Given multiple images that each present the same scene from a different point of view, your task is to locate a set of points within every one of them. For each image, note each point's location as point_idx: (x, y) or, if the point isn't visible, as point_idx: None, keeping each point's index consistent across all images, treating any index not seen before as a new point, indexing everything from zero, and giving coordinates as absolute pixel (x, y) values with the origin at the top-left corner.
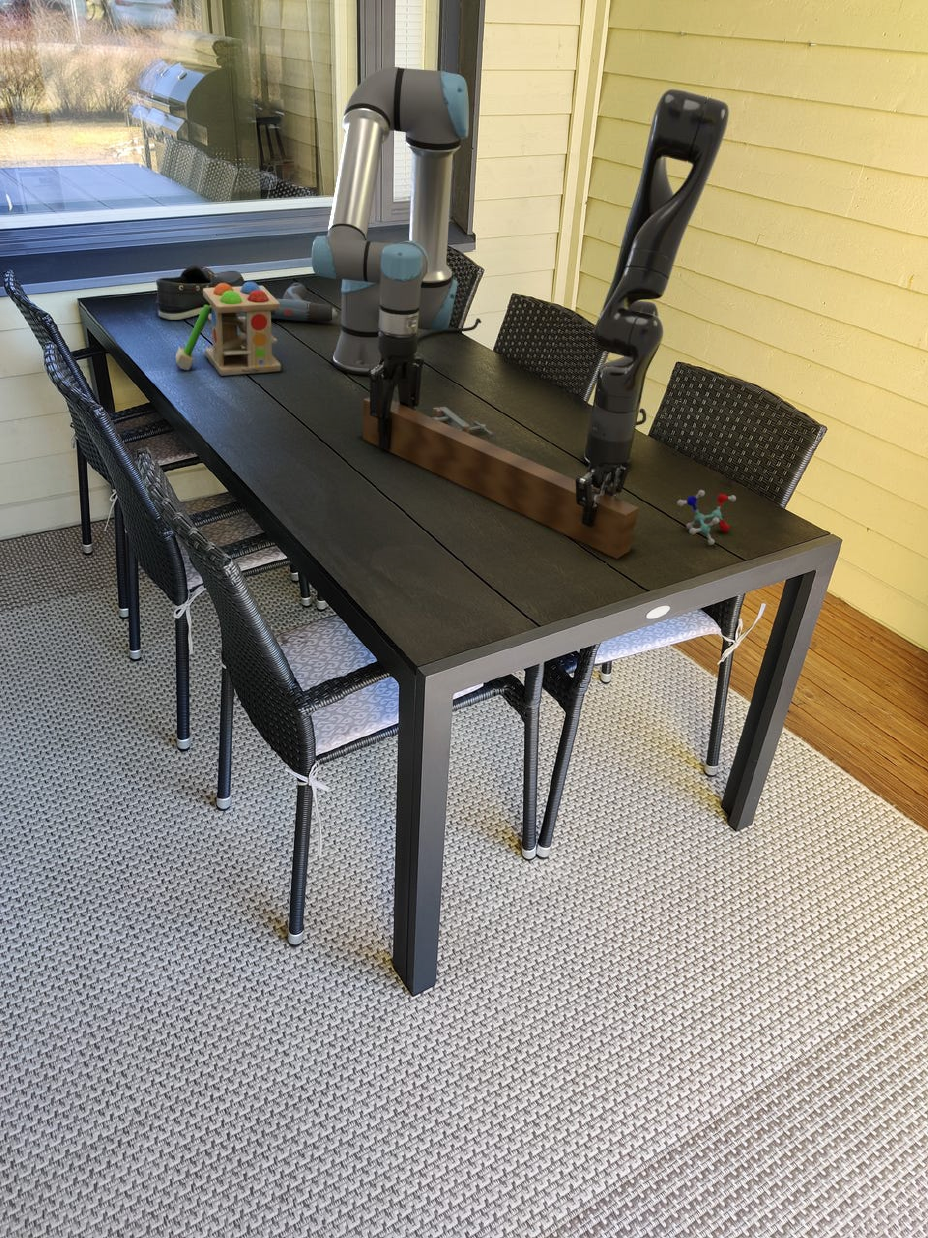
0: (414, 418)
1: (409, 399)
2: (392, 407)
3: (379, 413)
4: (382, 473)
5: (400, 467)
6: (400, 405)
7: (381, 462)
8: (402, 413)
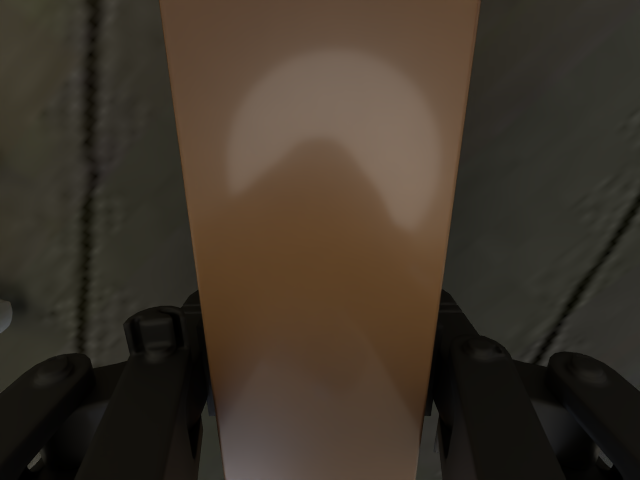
0: (389, 83)
1: (134, 440)
2: (341, 433)
3: (629, 399)
4: (597, 77)
5: (472, 66)
6: (241, 424)
7: (490, 175)
8: (380, 288)
